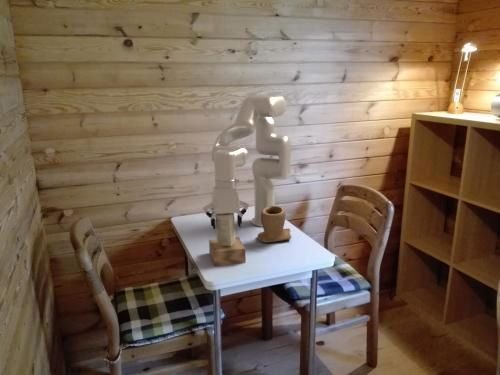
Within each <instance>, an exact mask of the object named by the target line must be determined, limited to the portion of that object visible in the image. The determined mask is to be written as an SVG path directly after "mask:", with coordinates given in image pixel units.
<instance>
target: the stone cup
mask: <svg viewBox="0 0 500 375" xmlns="http://www.w3.org/2000/svg"><path fill="white" fill-rule="evenodd" d="M286 215H287V214H286V211H285V208H283V207H282V206H280V205H275V206H270V207H266V208H264V209H263V210H262V212H261V223H262V226H263V227H262V229H263V231H260V232H258V234H257V238H258V240H259V241H260V242H263V243H274V242H275V243H276V242H281V241H288V240H290V239H292V234H291V229H290V228H284V227H285V226H284V225H285V222H286V217H287V216H286Z"/></svg>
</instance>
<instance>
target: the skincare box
mask: <svg viewBox="0 0 500 375" xmlns="http://www.w3.org/2000/svg"><path fill="white" fill-rule="evenodd" d="M214 218H215V232H216V239H217V245H224V246H232V245H233V244H234V243H235V242H236V241H235V237H236V226H235V224H236V223H235V213H227V214H217V215H216V216H215V217H214Z"/></svg>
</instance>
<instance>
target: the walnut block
mask: <svg viewBox="0 0 500 375" xmlns="http://www.w3.org/2000/svg"><path fill="white" fill-rule="evenodd" d="M235 241H236V242H235V243H234V244H233V245H232V246H224V245H217V238H214V239H213V238H212V239H209V240H208V244H209V245H208V248H209V249H208V250H209V252H208V253H209V255H210V258H211V261H212V263H213V266H214V267H216V266H217V267H218V266H226V265H234V264H236V265H237V264H244V263H246V258H247V257H246V247H245V245H244V244H243V241H242V240H241V239H240V237H239V236H235Z"/></svg>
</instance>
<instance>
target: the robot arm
mask: <svg viewBox="0 0 500 375" xmlns="http://www.w3.org/2000/svg"><path fill="white" fill-rule="evenodd" d="M286 109H287V102H286V99H285V98H284V96H282V95H263V94H262V95H261V94H260V95H252V96H246V97H245V98H244V99H243V101H242V102H241V106H240V108H239V111H238V113H237V115H236V118H235V121H234V123H233V124H231V125H230V126H228V127H227V128H225V129H224V130H223V131H222V132H221V133H220V134H219V135H217V138H216V140H215V142H214V144H213V146H212V150H211V155H210V157H211V161H212V163H214V164H213V165H214V186H213V187H212V192H211V193H212V195H211V202H210V203H208V204H206V205H204V206H203V207H202V210H203V212H204V214H205V215H206V216H207V217H208V218H209V219H210V226H211V227H212V229H213V230H216V221H215V216H216V215H217V214H227V213H234V214H235V213H236V214H237V218H236V219H237V221H236V222H237V227H239V228H241V225H242V224H243V215H245V213H247V210H248V209H249V203H247V202H245V201H242V200H240V196H239V189H238V184H240V180H239V179H236V168H241V167H243V166H245V165H246V164H247V163H248V161H249V159H250V153H249V151H248V149H246V148H245V147H243V146H233V145H231V146H230V144H231V143H233V142H235V141H238V140H242V139H244V138H246V137H249V136H251V135H253V134H254V133H255V149H256V153H258V154H260V155H264V156H276V157H278V158H275V157H257V158H255V159H254V160H253V162H252V164H251V170H252V174H253V175H252V176H253V183H254V184H253V185H254V186H253V187H254V189H253V190H254V194H253V195H254V217H253V218H252V219H251V224H252V225H254V226H257V227H262V228H263V226H262V223H261V212H262V210H263V209H264V208H266V207H270V206H276V205H275V195H276V194H275V193H276V191H275V190H276V189H275V188H276V187H275V184H274V182H273V181H272V180H280V181H281V180H282V181H283V180H287V179H288V178H289V176H290V172H291V154H292V152H291V151H292V149H291V148H292V146H291V140H290V137H288V135H285V134H276V130H275V128H276V123H275V121H274V118H278V117H280V116H283V114H285V112H286ZM241 206H242V207H243V208H242V209H241ZM209 209H211V210H212V211H211V212H210V211H209ZM240 209H241V210H240Z"/></svg>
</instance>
